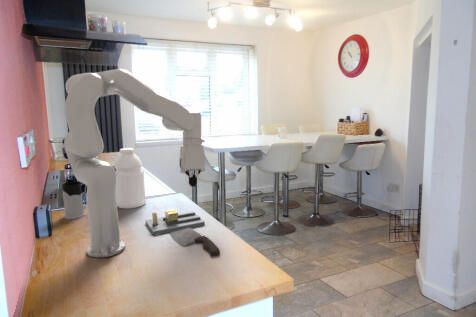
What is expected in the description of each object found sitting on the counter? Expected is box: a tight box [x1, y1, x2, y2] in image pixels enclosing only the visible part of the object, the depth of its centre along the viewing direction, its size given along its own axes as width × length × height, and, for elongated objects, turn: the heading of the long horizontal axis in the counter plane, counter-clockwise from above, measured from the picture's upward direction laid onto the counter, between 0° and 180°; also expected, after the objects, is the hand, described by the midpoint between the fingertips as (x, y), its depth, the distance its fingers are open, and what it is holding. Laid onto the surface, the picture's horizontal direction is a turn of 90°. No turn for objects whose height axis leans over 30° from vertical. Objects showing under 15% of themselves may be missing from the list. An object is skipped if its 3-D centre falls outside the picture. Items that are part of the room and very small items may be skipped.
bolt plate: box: [145, 211, 206, 236], centre depth 144 cm, size 14×21×6 cm, turn 116°
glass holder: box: [61, 181, 87, 220], centre depth 159 cm, size 9×14×15 cm, turn 130°
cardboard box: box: [164, 208, 179, 222], centre depth 143 cm, size 5×4×4 cm
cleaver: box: [168, 227, 221, 257], centre depth 126 cm, size 29×10×2 cm, turn 34°
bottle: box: [113, 147, 146, 209], centre depth 171 cm, size 14×14×28 cm
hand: (192, 185), depth 145 cm, fingers closed
